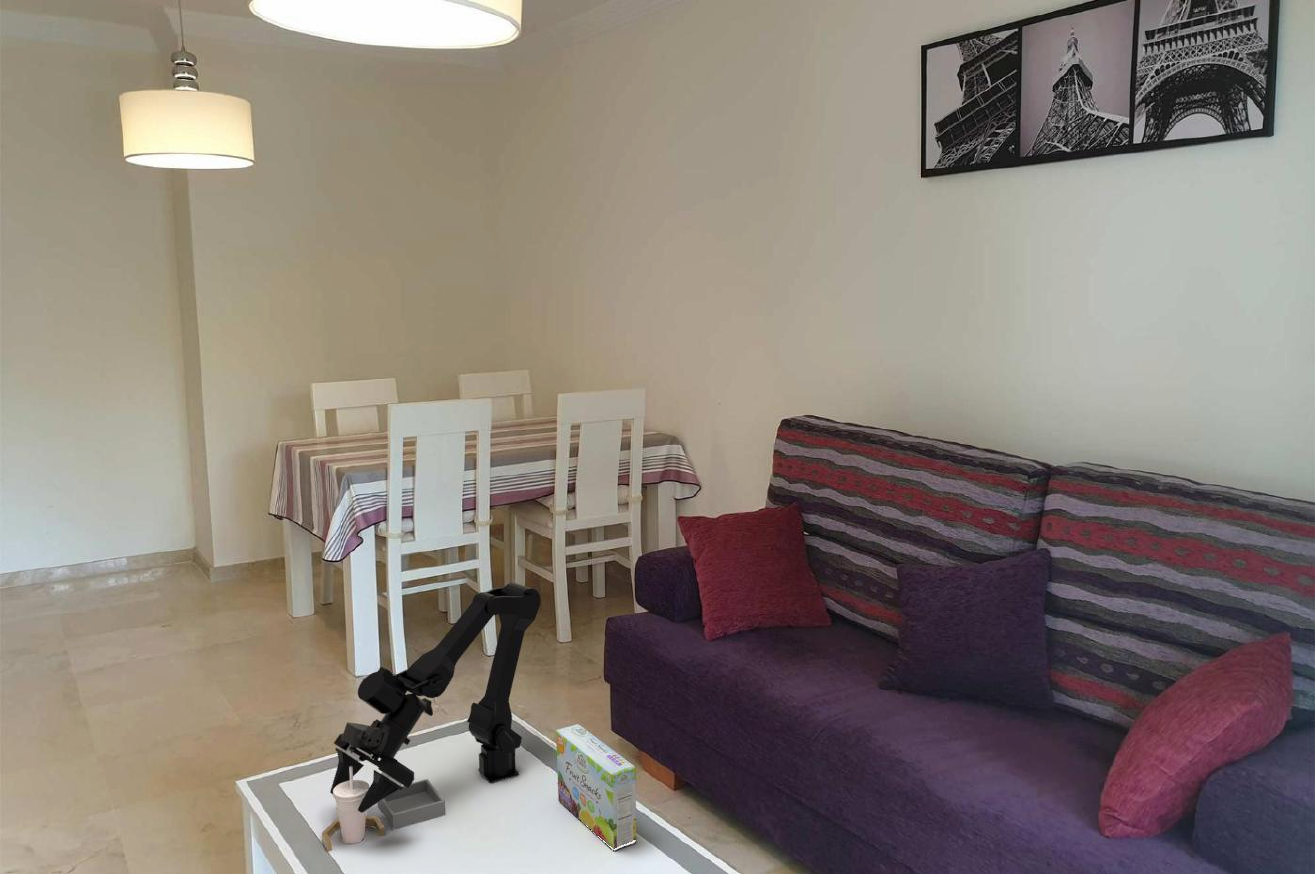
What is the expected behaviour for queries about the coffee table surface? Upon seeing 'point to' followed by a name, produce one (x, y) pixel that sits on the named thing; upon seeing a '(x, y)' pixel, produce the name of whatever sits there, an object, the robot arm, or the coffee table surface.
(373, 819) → the collar
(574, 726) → the snack box
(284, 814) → the coffee table surface
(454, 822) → the coffee table surface
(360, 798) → the smoothie
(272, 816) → the coffee table surface
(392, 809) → the tray
